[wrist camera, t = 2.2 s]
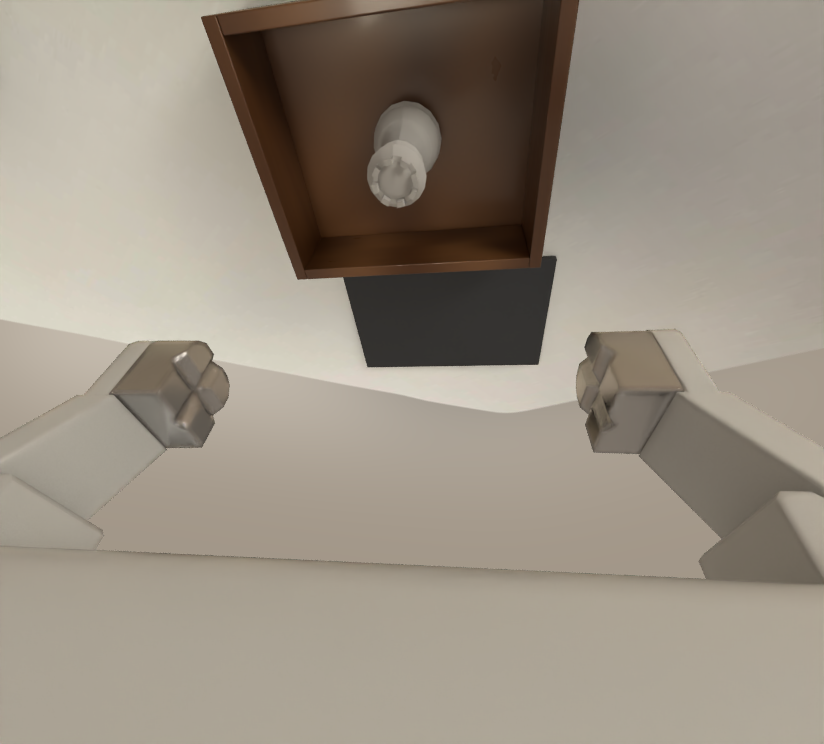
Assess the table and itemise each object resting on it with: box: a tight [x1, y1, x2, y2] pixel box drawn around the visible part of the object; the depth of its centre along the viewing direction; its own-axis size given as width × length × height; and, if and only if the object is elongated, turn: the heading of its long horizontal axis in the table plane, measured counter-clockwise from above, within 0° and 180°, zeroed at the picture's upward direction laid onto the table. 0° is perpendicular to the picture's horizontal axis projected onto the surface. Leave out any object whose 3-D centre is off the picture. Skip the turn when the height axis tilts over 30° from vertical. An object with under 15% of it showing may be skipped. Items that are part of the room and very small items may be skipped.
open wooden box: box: [201, 0, 579, 280], centre depth 24 cm, size 18×15×5 cm
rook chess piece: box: [367, 101, 441, 208], centre depth 23 cm, size 4×4×8 cm
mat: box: [343, 256, 557, 367], centre depth 37 cm, size 18×12×1 cm, turn 96°
